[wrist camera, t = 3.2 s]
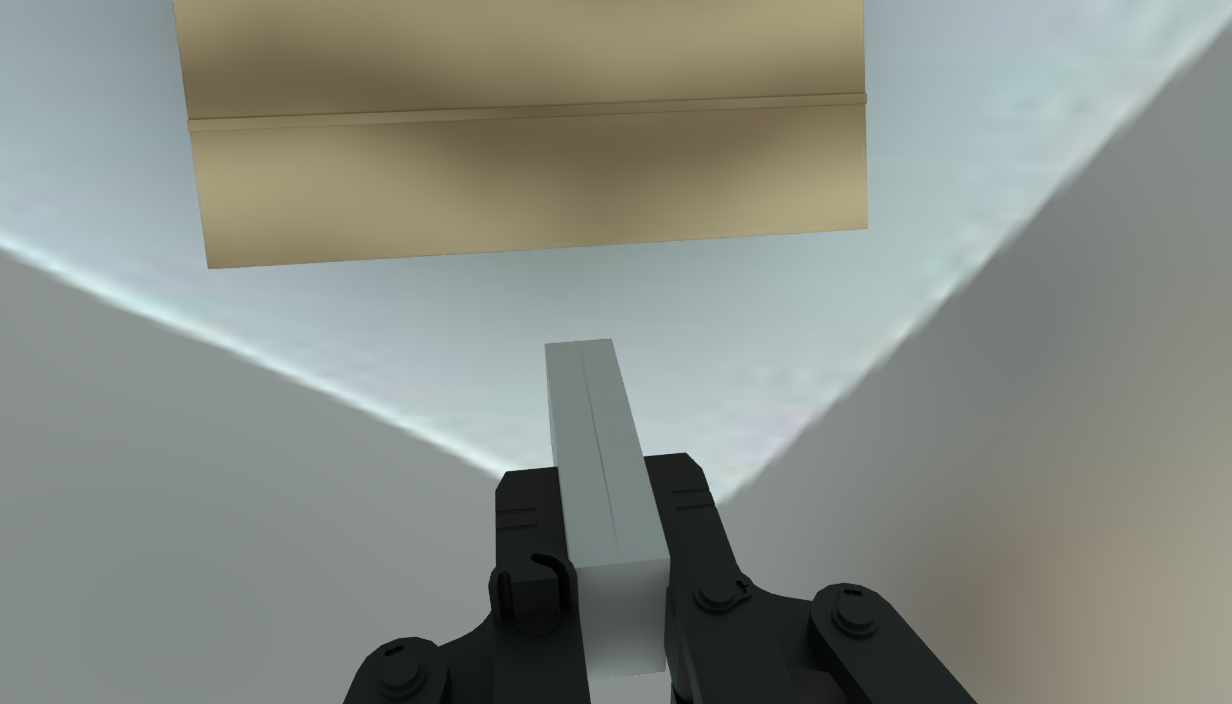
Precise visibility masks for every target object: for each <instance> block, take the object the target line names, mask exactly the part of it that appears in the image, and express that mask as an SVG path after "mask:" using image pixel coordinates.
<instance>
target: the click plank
mask: <svg viewBox="0 0 1232 704" xmlns="http://www.w3.org/2000/svg"><path fill="white" fill-rule="evenodd" d="M173 6H174V14H175V22H176V29H177V37H178V44H179V52H180V60H181V67H182V75H183V83H184V90H185V98H186V105H187V113H188V120H187V124H188V131H189V132H190V136H191V143H192V151H193V159H194V166H195V174H196V182H197V189H198V197H199V204H200V212H201V220H202V227H203V235H204V242H205V250H206V258H207V265H208V269H222V268H239V267H256V266H272V265H288V264H304V263H321V262H337V261H353V260H369V259H386V258H402V257H418V256H434V255H451V254H467V253H483V252H500V251H516V250H532V249H548V248H565V247H581V246H597V245H613V244H630V243H646V242H662V241H679V240H695V239H711V238H727V237H744V236H760V235H776V234H792V233H809V232H825V231H841V230H856V229H867V228H868V223H867V170H866V118H865V104H866V103H867V94H866V93H865V66H864V14H863V0H173Z"/></svg>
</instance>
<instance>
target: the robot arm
mask: <svg viewBox="0 0 1232 704" xmlns="http://www.w3.org/2000/svg"><path fill="white" fill-rule="evenodd" d="M545 357H546V372H547V387H548V403H549V418H550V433H551V445H552V454H553V463H554V467H548V468H538V469H527V470H517V471H507V472H506V473H505V474H504V476H503V478H502V480H501V482H500V483H499V485H498V487H497V489H496V491H495V501H496V502H495V503H496V505H495V506H496V507H495V511H496V567H495V568H494V570H493V571H492V572H491V576H490V581H489V585H488V588H489V595H490V602H491V612H490V614H489V615H488V616H487V618H486V619H485V620H484V621H483V623H482V624H480V625H479V626H478V627H477V628H475V629H474V630H473V631H472V632H470V633H468V634H466V635H464V636H462V637H460V638H458V639H456V640H453V641H451V642H449V643H446V644H444V645H441V646H439V647H438V646H437V645H436V644H434V643H433V642H432V641H429V640H426V639H422V638H419V637H408V638H398V639H396V640H393V641H391V642H388V643H386V644H384V645H381V646H380V647H379V648H377V649H376V650H375V651H374V652H372V653H371V654H370V655H369V656H367V657H366V659H365V661H364V662H363V664H362V665H361V666H360V668H359V669H358V671H357V673H356V675H355V677H354V680H353V682H352V684H351V686H350V688H349V691H348V693H347V695H346V697H345V700H344V702H343V704H591V702H590V694H589V686H588V681H594V680H602V679H610V678H617V677H625V676H633V675H640V674H647V673H655V672H663V671H665V668H666V667H665V666H666V657H667V662H668V666H669V670H670V674H671V679H672V682H671V702H670V703H671V704H977V703H976V701H975V700H974V699H973V698H972V697H971V696H970V695H969V693H967V691H966V690H965V689H964V688H963V687H962V685H961V684H960V683H959V682H958V681H957V680H956V679H955V677H954V676H953V675H952V674H951V673H950V672H949V671H948V669H947V668H946V667H945V666H944V665H943V664H942V663H941V661H940V660H939V659H938V658H937V657H936V656H935V655H934V654H933V652H932V651H931V650H930V649H929V648H928V647H927V646H926V645H925V643H924V642H923V641H922V640H921V639H920V637H919V636H918V635H917V634H916V633H915V632H914V631H913V629H912V628H911V627H910V626H909V625H908V624H907V623H906V622H905V620H904V619H903V618H902V617H901V616H900V615H899V614H898V612H897V611H896V610H895V609H894V608H893V607H892V606H891V604H890V603H889V602H887V601H886V600H885V599H884V598H882V597H881V596H880V595H879V594H878V593H877V592H874V591H872V590H870V589H868V588H866V587H863V586H861V585H855V584H849V583H840V584H834V585H829V586H827V587H825V588H824V589H822V590H820V591H819V592H817V594H816V596H815V598H814V599H813V601H809V600H802V599H796V598H790V597H783V596H780V595H776V594H772V593H769V592H767V591H765V590H762V589H760V588H759V587H757V586H756V585H754V584H753V582H752V581H751V579H750V578H749V577H747V576H746V575H745V574H743V573H742V572H741V570H740V569H739V567H738V565H737V563H736V560H735V557H734V555H733V552H732V549H731V546H730V544H729V541H728V538H727V535H726V533H725V530H724V527H723V525H722V522H721V519H720V516H719V514H718V511H717V508H716V507H715V503H714V500H713V497H712V494H711V492H710V491H709V486H708V483H707V481H706V478H705V475H704V472H703V470H702V468H701V467H700V466H699V465H698V464H697V463H696V462H695V461H694V460H693V459H692V458H691V457H690V456H689V455H688V454H687V453H675V454H665V455H655V456H644V457H643V454H642V450H641V447H640V443H639V439H638V435H637V432H636V428H635V424H634V421H633V417H632V413H631V409H630V406H629V402H628V398H627V395H626V391H625V387H624V383H623V380H622V376H621V372H620V369H619V365H618V361H617V357H616V354H615V350H614V346H613V342H612V339H600V340H587V341H574V342H562V343H549V344H545Z"/></svg>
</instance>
